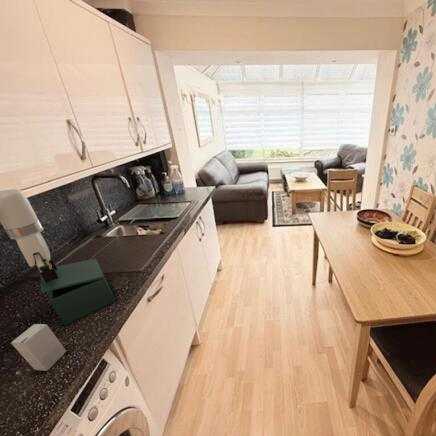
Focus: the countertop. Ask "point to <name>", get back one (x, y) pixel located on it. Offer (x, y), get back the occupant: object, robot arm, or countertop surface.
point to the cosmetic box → (39, 347)
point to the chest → (81, 299)
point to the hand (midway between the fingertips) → (51, 275)
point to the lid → (73, 275)
